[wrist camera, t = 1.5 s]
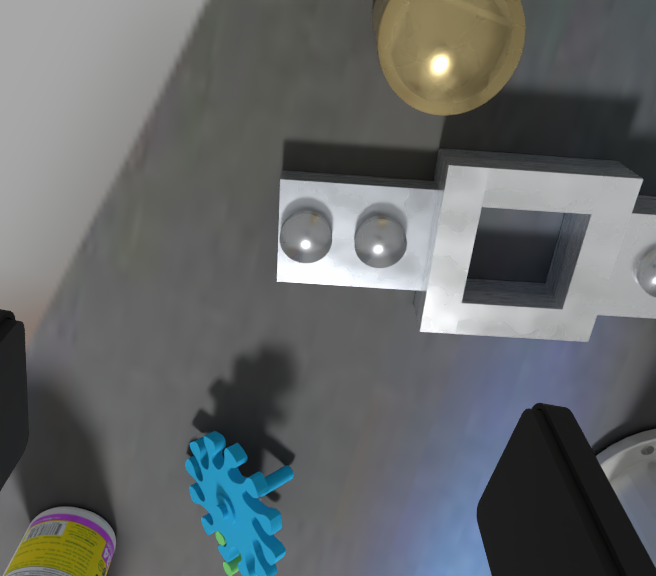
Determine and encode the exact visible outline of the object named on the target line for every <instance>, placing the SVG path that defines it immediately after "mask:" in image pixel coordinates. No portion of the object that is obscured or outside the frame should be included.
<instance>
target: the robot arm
mask: <svg viewBox="0 0 656 576" xmlns="http://www.w3.org/2000/svg"><path fill="white" fill-rule="evenodd" d="M28 434H29V429H28V404H27V378H26V353H25V329H24V324H23V322H21V321H16V320H15V316H14V314H13V313H12V312H11V311H6V310H1V309H0V491H1V489H2V487H3V486H4V484H5V482H6V481H7V479H8V478H9V476H10V474H11V473H12V471H13V469H14V468H15V466H16V464H17V463H18V461H19V459H20V458H21V456H22V454H23V452H24V450H25V448H26V445H27V441H28ZM477 522H478V526H479V529H480V533H481V537H482V541H483V544H484V548H485V552H486V556H487V559H488V563H489V567H490V570H491V574H492V576H656V429H653V430H648V431H644V432H641V433H638V434H635V435H632V436H630V437H627V438H625V439H623V440H621V441H619V442H617V443H615V444H613V445H611V446H609V447H608V448H606V449H605V450H604V451H602V452H601V453H599V454H598V455H597V456H595V454H594V452H593V451H592V449H591V447H590V445H589V443H588V441H587V439H586V438H585V436H584V434H583V432H582V430H581V428H580V426H579V425H578V423H577V421H576V419H575V417H574V415H573V414H572V412H571V411H570V409H568V408H566V407H560V406H555V405H549V404H543V403H537V404H535V405H534V406H533V407H532V409H526V410H525V411H524V412H523V413H522V415H521V417H520V419H519V421H518V423H517V425H516V427H515V429H514V431H513V433H512V435H511V438H510V440H509V442H508V444H507V446H506V448H505V450H504V452H503V454H502V456H501V458H500V460H499V462H498V464H497V466H496V468H495V470H494V472H493V474H492V476H491V478H490V480H489V482H488V484H487V486H486V488H485V490H484V492H483V494H482V497H481V499H480V501H479V503H478V507H477Z"/></svg>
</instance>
